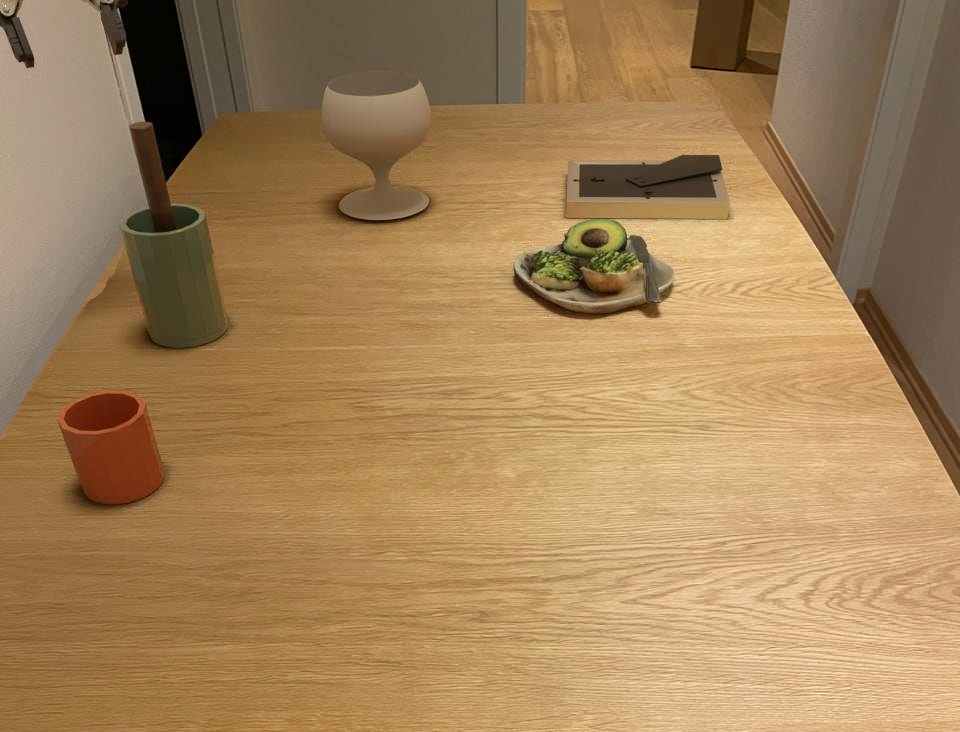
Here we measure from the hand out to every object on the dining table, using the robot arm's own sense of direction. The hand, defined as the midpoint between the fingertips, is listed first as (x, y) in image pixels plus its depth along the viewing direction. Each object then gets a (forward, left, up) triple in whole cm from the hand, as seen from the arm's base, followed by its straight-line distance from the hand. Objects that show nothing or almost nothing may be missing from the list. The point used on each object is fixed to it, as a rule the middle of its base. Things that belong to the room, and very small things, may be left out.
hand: (75, 57), depth 97 cm
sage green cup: (+6, -6, -25) cm, 27 cm away
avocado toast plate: (+52, -1, -26) cm, 58 cm away
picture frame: (+64, +24, -26) cm, 73 cm away
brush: (+6, -6, -25) cm, 26 cm away
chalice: (+29, +27, -26) cm, 47 cm away
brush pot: (+3, -35, -25) cm, 44 cm away
